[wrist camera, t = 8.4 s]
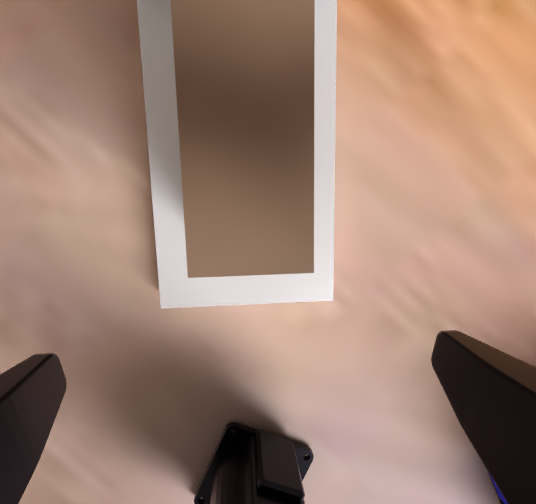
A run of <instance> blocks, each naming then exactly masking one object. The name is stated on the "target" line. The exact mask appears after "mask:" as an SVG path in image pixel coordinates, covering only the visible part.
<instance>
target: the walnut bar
mask: <svg viewBox="0 0 536 504" xmlns="http://www.w3.org/2000/svg"><path fill="white" fill-rule="evenodd" d="M170 1H171V17H172V33H173V49H174V65H175V81H176V97H177V113H178V129H179V145H180V161H181V177H182V193H183V209H184V225H185V241H186V257H187V273H188V278H199V277H225V276H250V275H276V274H301V273H314V44H315V0H170Z"/></svg>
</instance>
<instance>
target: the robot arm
mask: <svg viewBox="0 0 536 504" xmlns="http://www.w3.org/2000/svg"><path fill="white" fill-rule="evenodd" d="M431 361H432V366H433V368H434V371H435V373H436V375H437V377H438V379H439V381H440V383H441V385H442V387H443V389H444V391H445V393H446V396H447V398H448V400H449V402H450V404H451V406H452V408H453V410H454V412H455V414H456V416H457V418H458V420H459V422H460V424H461V426H462V428H463V430H464V431H465V433H466V435H467V437H468V438H469V440H470V442H471V443H472V445H473V447H474V448H475V450H476V452H477V453H478V455H479V457H480V458H481V460H482V462H483V463H484V465H485V467H486V468H487V470H488V472H489V473H490V475H491V477H492V478H493V480H494V482H495V483H496V485H497V487H498V488H499V490H500V492H501V493H502V495H503V497H504V498H505V500H506V502H507V503H508V504H536V367H534V366H532V365H529V364H527V363H525V362H523V361H521V360H519V359H517V358H515V357H512V356H510V355H508V354H506V353H504V352H502V351H500V350H498V349H495V348H493V347H491V346H489V345H487V344H485V343H483V342H481V341H479V340H476V339H474V338H472V337H470V336H468V335H466V334H464V333H462V332H459V331H456V330H450V331H441V332H439V333H438V334H437V337H436V341H435V345H434V349H433V353H432V358H431ZM65 391H66V378H65V375H64V372H63V369H62V366H61V363H60V360H59V357H58V356H57V355H56V354H54V353H45V354H35V355H33V356H31V357H29V358H28V359H26V360H24V361H23V362H21V363H19V364H17V365H16V366H14V367H12V368H11V369H9V370H7V371H6V372H4V373H2V374H0V504H18V503H19V501H20V499H21V497H22V495H23V493H24V491H25V489H26V487H27V485H28V483H29V481H30V479H31V477H32V475H33V472H34V470H35V468H36V466H37V464H38V462H39V459H40V457H41V454H42V452H43V449H44V447H45V444H46V442H47V439H48V436H49V434H50V431H51V428H52V426H53V423H54V420H55V418H56V415H57V412H58V410H59V407H60V404H61V402H62V399H63V397H64V394H65ZM230 430H235V432H230ZM306 454H308V455H307V456H304V455H306ZM312 461H313V453H312V450H311V448H309V447H306V446H303V445H300V444H297V443H295V442H292V441H291V440H288V439H285V438H282V437H279V436H276V435H273V434H270V433H267V432H264V431H261V430H260V431H259V430H256V429H253V428H250V427H247V426H244V425H241V424H238V423H234V422H232V423H229V424H228V425H227V426H226V428H225V430H224V432H223V434H222V436H221V439H220V441H219V443H218V445H217V447H216V450H215V452H214V454H213V456H212V458H211V460H210V463H209V465H208V467H207V469H206V471H205V474H204V476H203V478H202V480H201V482H200V485H199V487H198V489H197V491H196V493H195V498H194V503H195V504H305V502H304V496H305V493H304V489H303V484H302V481H303V479H304V477H305V475H306V473H307V471H308V469H309V467H310V465H311V463H312ZM201 498H203V499H201Z"/></svg>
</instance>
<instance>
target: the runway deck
mask: <svg viewBox="0 0 536 504" xmlns="http://www.w3.org/2000/svg"><path fill="white" fill-rule="evenodd" d="M137 11H138V24H139V37H140V49H141V62H142V75H143V88H144V100H145V113H146V126H147V139H148V152H149V164H150V177H151V190H152V203H153V215H154V228H155V241H156V254H157V267H158V279H159V292H160V305H161V309H162V308H183V307H205V306H226V305H247V304H269V303H290V302H311V301H332V300H333V280H334V198H335V116H336V34H337V0H315V44H314V273H301V274H276V275H250V276H225V277H199V278H188V273H187V257H186V241H185V225H184V209H183V193H182V177H181V161H180V145H179V129H178V113H177V97H176V81H175V65H174V49H173V33H172V17H171V1H170V0H137Z"/></svg>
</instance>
